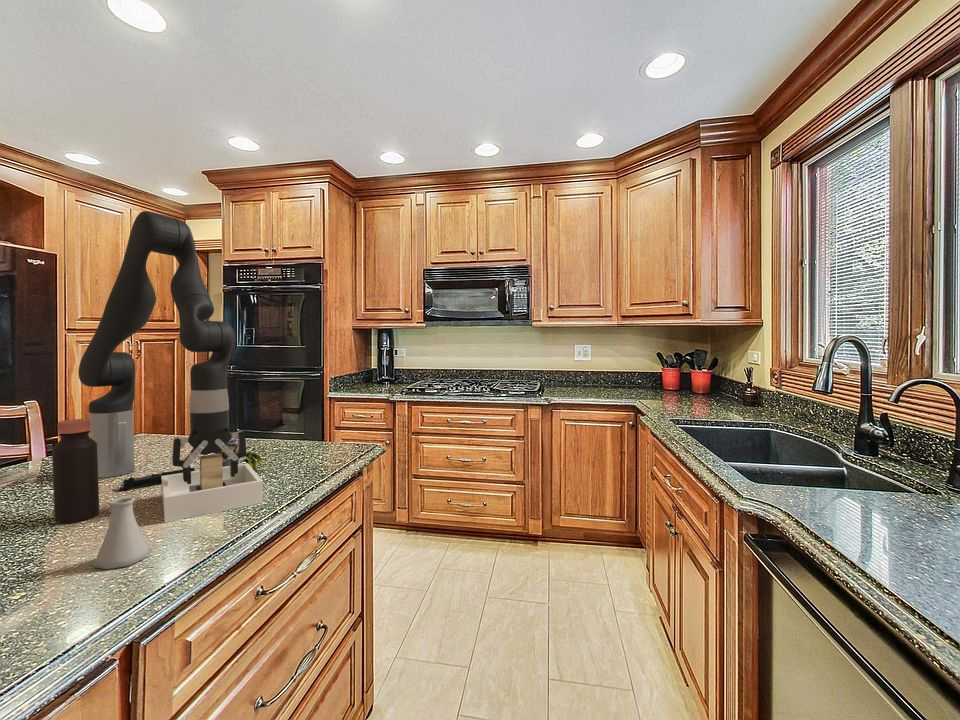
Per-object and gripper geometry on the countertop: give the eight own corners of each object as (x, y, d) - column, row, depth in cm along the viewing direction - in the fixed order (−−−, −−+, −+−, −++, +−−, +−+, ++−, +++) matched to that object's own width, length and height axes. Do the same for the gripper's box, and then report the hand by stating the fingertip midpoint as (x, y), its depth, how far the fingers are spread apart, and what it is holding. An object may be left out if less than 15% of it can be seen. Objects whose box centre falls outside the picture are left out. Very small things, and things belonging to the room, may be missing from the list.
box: (161, 497, 102) (161, 476, 102) (248, 482, 113) (247, 463, 113) (164, 522, 88) (164, 498, 87) (263, 502, 99) (262, 480, 98)
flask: (116, 550, 76) (115, 493, 76) (160, 548, 77) (159, 492, 76) (82, 571, 69) (80, 509, 69) (130, 570, 70) (129, 507, 69)
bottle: (107, 510, 94) (104, 417, 93) (84, 523, 87) (81, 423, 87) (71, 512, 93) (67, 418, 92) (45, 525, 86) (41, 424, 85)
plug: (200, 495, 101) (199, 456, 100) (220, 491, 103) (219, 453, 103) (202, 500, 97) (201, 460, 97) (223, 496, 100) (222, 457, 99)
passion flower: (226, 493, 121) (199, 458, 120) (254, 474, 131) (229, 442, 130) (252, 474, 117) (224, 438, 117) (278, 456, 128) (253, 423, 127)
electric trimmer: (196, 480, 116) (196, 468, 116) (121, 493, 105) (121, 480, 105) (193, 477, 119) (193, 465, 119) (119, 489, 108) (119, 477, 108)
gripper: (242, 404, 107) (243, 470, 107) (170, 409, 98) (172, 481, 99) (247, 408, 101) (249, 478, 101) (172, 414, 92) (174, 490, 93)
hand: (211, 479), depth 100 cm, fingers open, 8 cm apart
